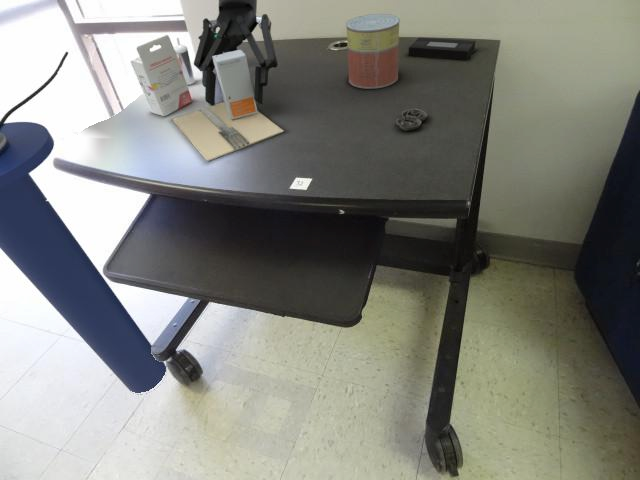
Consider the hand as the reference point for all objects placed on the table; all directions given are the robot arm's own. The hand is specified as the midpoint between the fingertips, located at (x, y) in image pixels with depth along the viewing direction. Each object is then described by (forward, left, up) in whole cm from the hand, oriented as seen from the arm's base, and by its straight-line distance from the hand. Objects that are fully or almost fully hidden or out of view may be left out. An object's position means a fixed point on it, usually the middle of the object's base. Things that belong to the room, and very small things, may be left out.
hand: (233, 102), depth 80 cm
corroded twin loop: (+25, +25, -4) cm, 35 cm away
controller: (-33, +11, -4) cm, 35 cm away
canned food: (+3, +33, -4) cm, 33 cm away
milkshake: (-30, -1, -4) cm, 31 cm away
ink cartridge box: (-18, -9, -4) cm, 21 cm away
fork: (0, -4, -4) cm, 6 cm away
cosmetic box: (-2, +2, -4) cm, 5 cm away
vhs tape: (+2, +55, -4) cm, 55 cm away
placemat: (0, -3, -4) cm, 5 cm away
